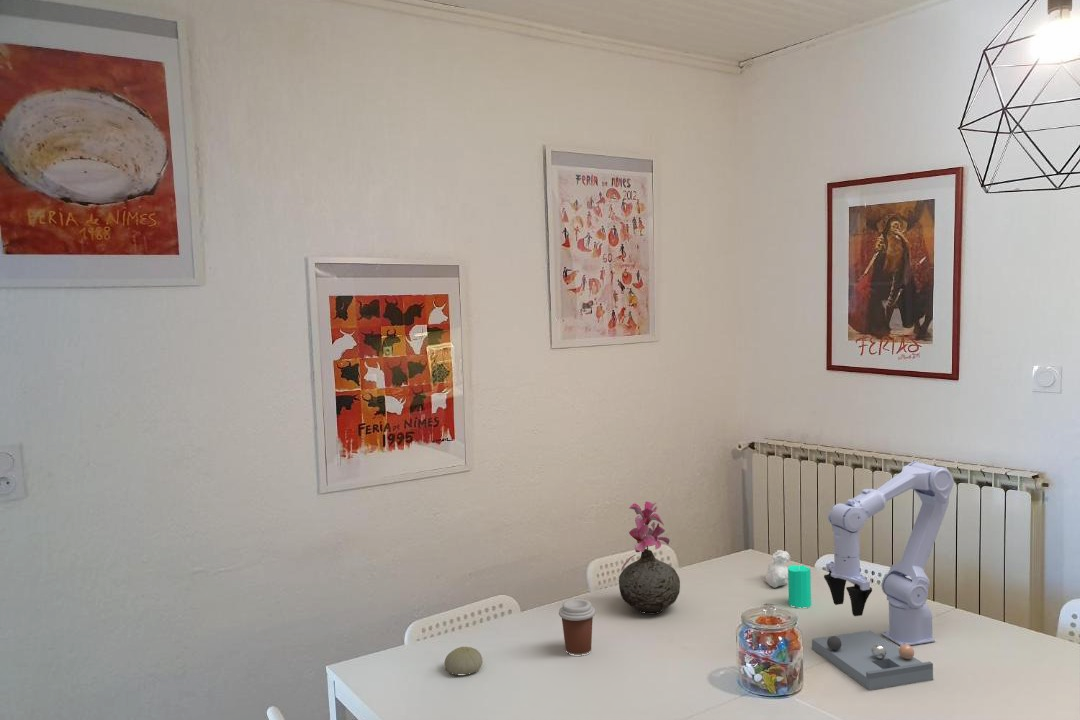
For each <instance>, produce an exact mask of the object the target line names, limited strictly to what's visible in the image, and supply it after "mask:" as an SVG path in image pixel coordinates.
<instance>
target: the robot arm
mask: <svg viewBox="0 0 1080 720" xmlns="http://www.w3.org/2000/svg"><path fill="white" fill-rule="evenodd" d="M954 484H955V480H954V478H953V476H952V474H951V472H950V470H949V469H948V468H947V467H943V466H937V465H932V464H928V463H923V462H921V461H917V460H916V461H915V460H914V461H912V462H909V463H908V464H907V465H903V467H902V469H901V472H900V473H897V474H896V475H895V476H893V477H892V478H891V479H889V480H888V481H887V482H886V483H883V484H882V485H881V486H879V488H876V489H875V488H864V489H862V490H861V493H859V494H858V495H856V496H855V497H853V498H849V499H847V501H846V502H845V503H836V504H835V505H834V506H832V508H831V509H830V511H829V514H827V519H828V522H829V524H830V525H831V529H832V532H833V561H834V562H830V563H826V564H825V570H826V572H827V573H828V574H824V575H823V579H824V580H825V581H826V584H827V585H828V588H829V590H830V594H831V598H832V602H833V605H835V606H837V605H838V606H839V605H843V604H844V600H845V588H846V591H847V594H848V596H849V599H850V605H851V612H852V613H851V614H852V616H854V617H860V616H863V613H864V609H865V606H866V604H867V603H866V602H867V601H868V598H869V596H870V595H871V593H872V592H873V588H872V587H871V582H870V581H869V580H868V579H866V577H865V576H864V575H863V573H861V567H860V566H861V562H860V559H861V558H860V556H861V555H860V552H861V551H860V531H861V530H862V529H863V527H864V525H865V524H866V522H867V521H868V519H870V518H871V517H873V516H875V515H877V514H878V513H880V512H881V511H883V510H884V509H885V507H886V502H888V501H890V500H892V499H894V498H896V497H898V496H900V495H902V494H903V493H906V492H907V491H909V490H911V489H912V491H914V492H915V493H916V495H917V496H918V498H919V499H920V501H921V506H920V508H919V511H918V514H917V517H916V520H915V523H914V524H913V527H912V530H911V533H910V536H909V538H908V541H907V544H906V546H905V549H904V551H903V554H902V557H901V560H900V561H898V562H896V563H894V564H891V565H890V567H889V570H888V572H887V573H886V574H885V575H884V576H883V577H882V580H881V589H882V592H883V594H884V595H885V596H886V600H887V601H888V630H886V631H881V636H883V637H885V638H887V639H888V640H890V641H892V642H894V643H895V644H897V645H899V647H900V646H901V645H904V644H907V645H910V646H913V645H914V646H915V645H922V644H928V643H934V642H936V640H935V638H934V637H933V614H932V610H931V608H930V606H929V604H928V603H926V602H927V600H928V597H929V586H930V584H931V581H930V579H929V577H928V576H927V574H926V572H925V568H926V567H927V566H926V565H927V563H928V561H929V558H930V555H931V552H932V550H933V547H934V545H935V541H936V538H937V536H938V534H939V531H940V528H941V526H942V522H943V520H944V518H945V515H946V511H947V509H948V507H949V501H950V495H951V492H952V489H953V487H954ZM909 577H910V578H909ZM847 582H849V583H851V584H852V585H853V586H846V584H847Z"/></svg>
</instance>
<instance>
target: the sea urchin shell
mask: <svg viewBox="0 0 1080 720" xmlns="http://www.w3.org/2000/svg"><path fill="white" fill-rule="evenodd" d="M483 662H484V661H483V657H482V654H481V652H480V651H479V650H478V649H477V648H474V647H471V646H460V647H457V648H455V649H453V650H451V651H450V652H449V653H448V654H447V655H446V656H445V659H444V667H445V669H446V671H447V672H449V673H450V674H451V673H453V674H452V675H454V674H456V675H458V674H469V673H473V672H476V671H478V672H479V670H480V669H481V668H482V666H483ZM476 673H477V672H476ZM473 674H474V673H473ZM456 675H455V676H456Z"/></svg>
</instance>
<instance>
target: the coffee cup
mask: <svg viewBox="0 0 1080 720" xmlns="http://www.w3.org/2000/svg"><path fill="white" fill-rule="evenodd" d="M558 615H559V617H560V618H561V623H562V631H563V640H564V646H565V652H566V651H567V652H568V653H570V654H574V655H582V654H587V653H589V652H590V651H591V652H592V638H593V637H592V636H593V617H594V616H595V615H596V609H595V607H593V606H592V604H591V602H590V601H588V600H586V599H582V598H572V599H569V600H566V601H564V602H563V603H562V606H561V608H559V611H558ZM589 654H590V653H589Z"/></svg>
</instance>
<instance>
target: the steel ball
mask: <svg viewBox="0 0 1080 720" xmlns="http://www.w3.org/2000/svg"><path fill="white" fill-rule="evenodd" d="M871 652H872V654H873V656H874V657H875V658H878V659H882V658H884V657H885V656H886V654H887V651H886V649H885V647H884V646H883V645H881V644H875V645H874V646H873V647H872V649H871Z"/></svg>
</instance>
